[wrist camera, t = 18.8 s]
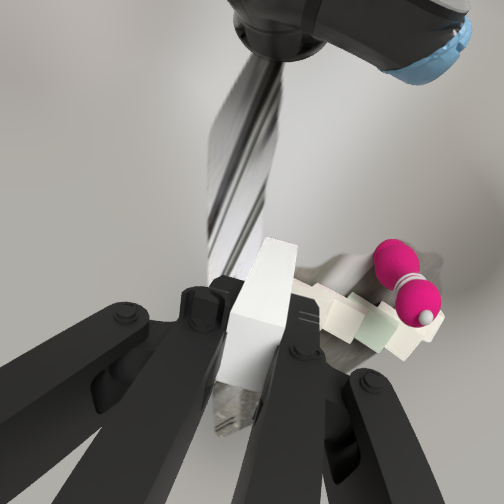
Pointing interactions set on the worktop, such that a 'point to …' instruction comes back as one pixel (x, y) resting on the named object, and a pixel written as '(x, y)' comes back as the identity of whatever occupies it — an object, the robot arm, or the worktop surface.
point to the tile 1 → (319, 296)
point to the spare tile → (374, 325)
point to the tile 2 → (343, 315)
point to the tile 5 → (432, 327)
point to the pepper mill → (406, 283)
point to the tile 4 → (402, 335)
